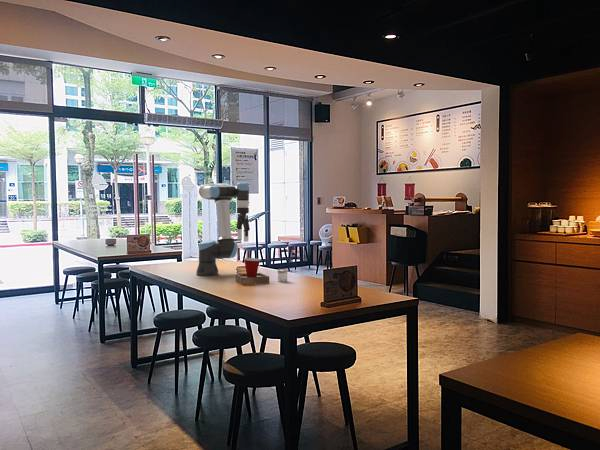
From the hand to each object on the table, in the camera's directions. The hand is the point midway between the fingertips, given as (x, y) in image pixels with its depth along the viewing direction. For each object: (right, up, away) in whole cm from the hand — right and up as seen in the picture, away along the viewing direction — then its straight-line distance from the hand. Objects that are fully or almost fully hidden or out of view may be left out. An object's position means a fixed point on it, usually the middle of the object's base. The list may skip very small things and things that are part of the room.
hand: (242, 240), depth 325 cm
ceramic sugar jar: (+25, -26, +1) cm, 36 cm away
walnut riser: (+6, -26, -3) cm, 27 cm away
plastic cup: (+6, -23, -3) cm, 24 cm away
